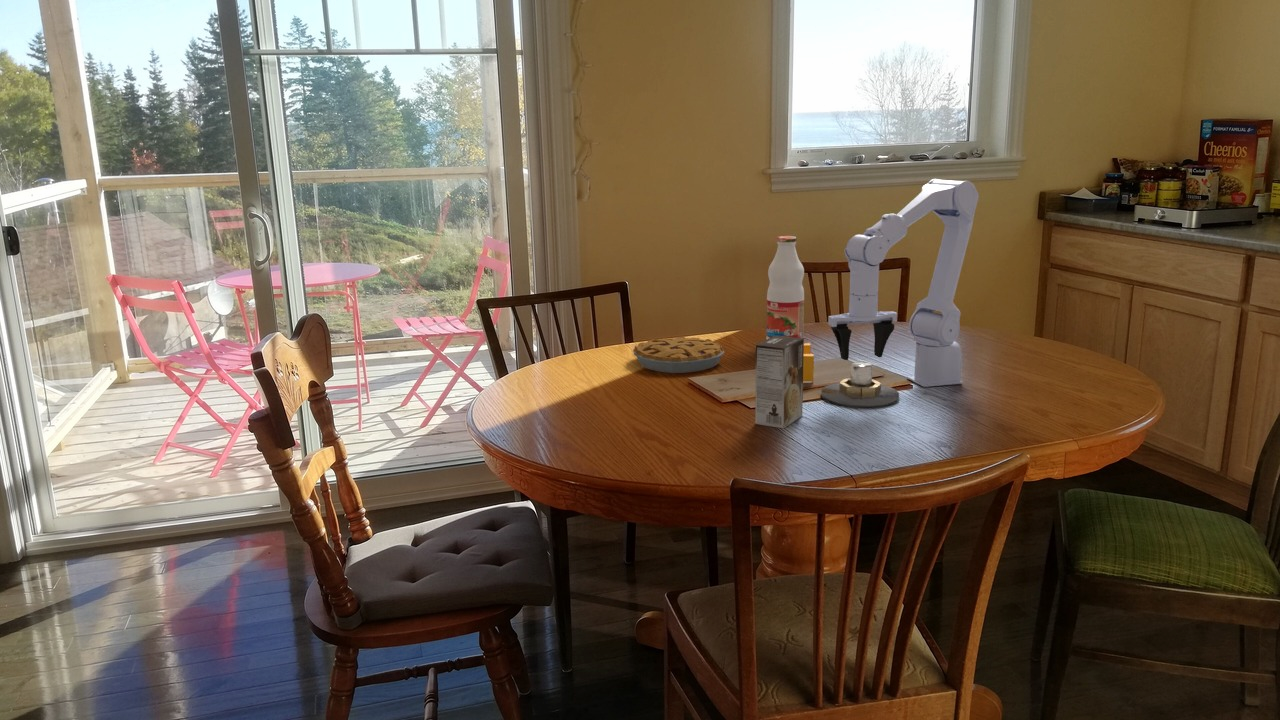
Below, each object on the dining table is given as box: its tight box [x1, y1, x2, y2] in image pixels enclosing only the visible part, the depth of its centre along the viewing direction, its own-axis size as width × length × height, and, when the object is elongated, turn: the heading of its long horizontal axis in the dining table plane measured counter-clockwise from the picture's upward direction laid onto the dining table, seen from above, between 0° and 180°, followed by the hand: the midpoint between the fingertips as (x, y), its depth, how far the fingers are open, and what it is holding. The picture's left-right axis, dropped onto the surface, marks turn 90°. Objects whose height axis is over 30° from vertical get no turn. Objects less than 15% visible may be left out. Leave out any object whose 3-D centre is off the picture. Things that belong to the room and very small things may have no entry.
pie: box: [633, 336, 725, 374], centre depth 233 cm, size 22×22×5 cm
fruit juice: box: [766, 235, 805, 340], centre depth 245 cm, size 9×9×28 cm
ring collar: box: [820, 378, 900, 409], centre depth 202 cm, size 16×16×3 cm
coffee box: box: [754, 336, 805, 429], centre depth 186 cm, size 9×6×16 cm
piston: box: [850, 361, 873, 387], centre depth 201 cm, size 4×4×6 cm
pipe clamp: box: [803, 342, 815, 382], centre depth 218 cm, size 12×4×6 cm, turn 174°
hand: (861, 357), depth 200 cm, fingers open, 7 cm apart
